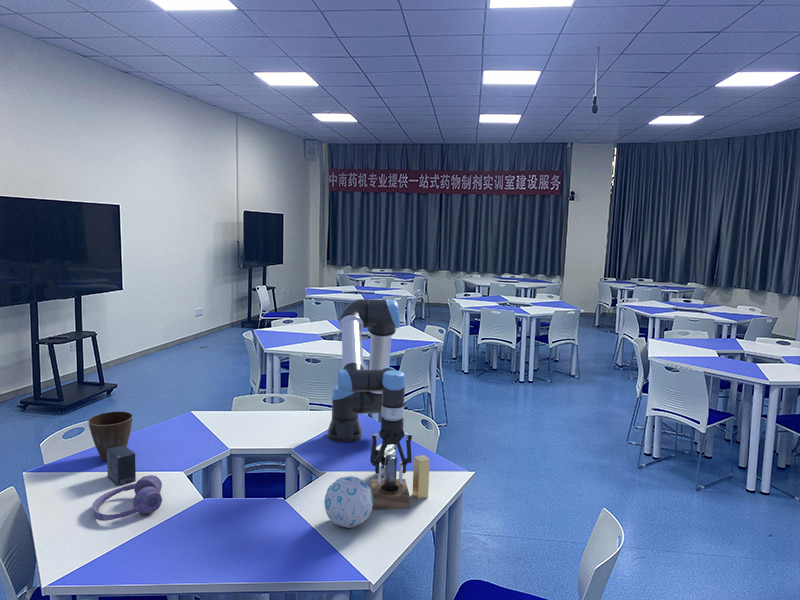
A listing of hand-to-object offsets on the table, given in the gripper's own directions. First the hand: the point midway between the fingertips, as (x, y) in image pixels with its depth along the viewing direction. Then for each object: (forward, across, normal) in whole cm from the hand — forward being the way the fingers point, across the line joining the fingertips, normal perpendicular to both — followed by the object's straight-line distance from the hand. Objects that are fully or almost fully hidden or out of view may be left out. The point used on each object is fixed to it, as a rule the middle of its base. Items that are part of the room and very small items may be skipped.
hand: (390, 481), depth 187 cm
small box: (+7, -94, +20) cm, 96 cm away
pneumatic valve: (+7, 0, +19) cm, 20 cm away
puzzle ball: (+7, -14, -14) cm, 21 cm away
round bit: (+5, 0, 0) cm, 5 cm away
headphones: (+7, -84, -1) cm, 85 cm away
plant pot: (+7, -104, +38) cm, 111 cm away
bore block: (+6, 0, 0) cm, 6 cm away
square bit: (+6, +11, +2) cm, 13 cm away
